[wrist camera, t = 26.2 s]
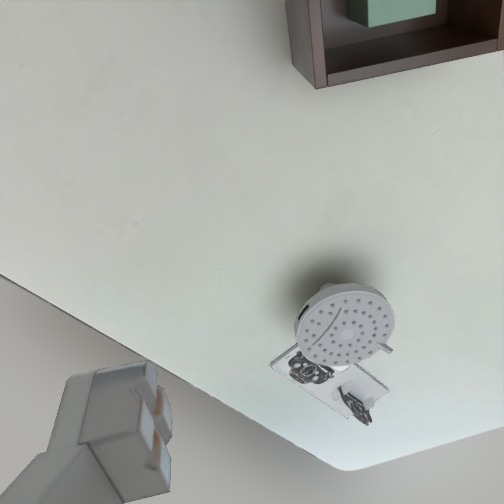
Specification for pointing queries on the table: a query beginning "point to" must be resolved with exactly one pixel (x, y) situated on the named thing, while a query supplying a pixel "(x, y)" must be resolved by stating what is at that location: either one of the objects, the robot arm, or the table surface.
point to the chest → (387, 39)
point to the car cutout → (333, 384)
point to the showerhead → (344, 324)
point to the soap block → (388, 11)
